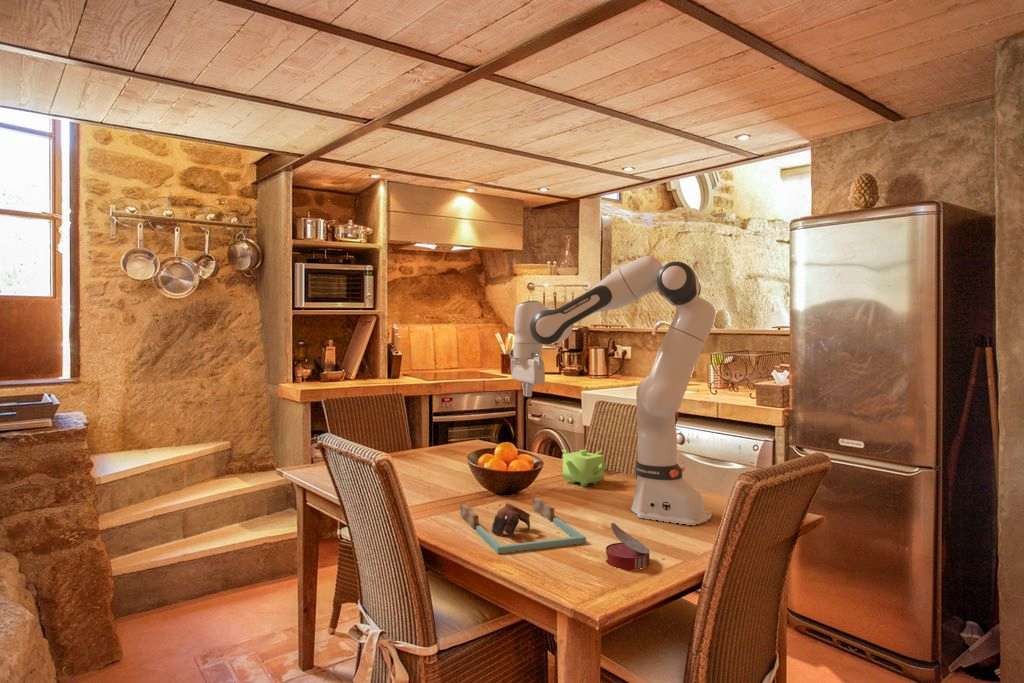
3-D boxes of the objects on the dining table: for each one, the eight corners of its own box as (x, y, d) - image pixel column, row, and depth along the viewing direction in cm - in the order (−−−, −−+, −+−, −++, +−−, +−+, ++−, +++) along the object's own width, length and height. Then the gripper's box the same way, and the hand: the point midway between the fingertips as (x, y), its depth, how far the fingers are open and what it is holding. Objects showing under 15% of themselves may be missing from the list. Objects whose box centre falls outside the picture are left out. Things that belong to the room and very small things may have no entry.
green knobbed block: (560, 477, 231) (561, 445, 231) (601, 478, 231) (601, 446, 231) (563, 488, 216) (564, 454, 216) (606, 488, 216) (607, 454, 216)
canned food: (620, 574, 155) (629, 532, 158) (654, 582, 147) (664, 538, 151) (589, 561, 149) (600, 517, 152) (624, 569, 141) (634, 523, 145)
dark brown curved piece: (487, 529, 174) (500, 500, 176) (519, 545, 174) (532, 516, 176) (491, 531, 163) (505, 500, 165) (525, 548, 163) (539, 517, 165)
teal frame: (476, 531, 170) (476, 526, 170) (557, 523, 178) (557, 517, 178) (497, 553, 154) (497, 547, 154) (585, 543, 162) (586, 537, 162)
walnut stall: (460, 515, 184) (460, 503, 184) (536, 508, 192) (536, 496, 192) (473, 529, 172) (474, 516, 172) (554, 521, 180) (554, 508, 180)
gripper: (550, 353, 198) (549, 399, 198) (525, 351, 217) (525, 392, 218) (530, 354, 196) (530, 400, 196) (507, 351, 215) (507, 393, 216)
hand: (527, 396), depth 207 cm, fingers closed
